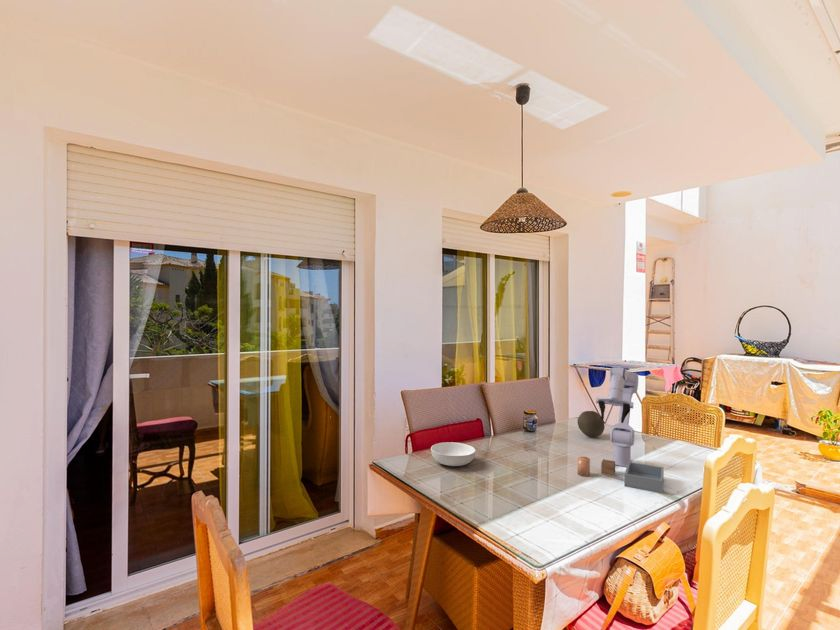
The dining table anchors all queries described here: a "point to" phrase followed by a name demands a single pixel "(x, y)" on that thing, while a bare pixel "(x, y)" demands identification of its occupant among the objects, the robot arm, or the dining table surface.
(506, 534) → the dining table surface
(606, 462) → the walnut block
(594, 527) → the dining table surface
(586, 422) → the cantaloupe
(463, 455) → the serving bowl
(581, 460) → the terracotta cylinder
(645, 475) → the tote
